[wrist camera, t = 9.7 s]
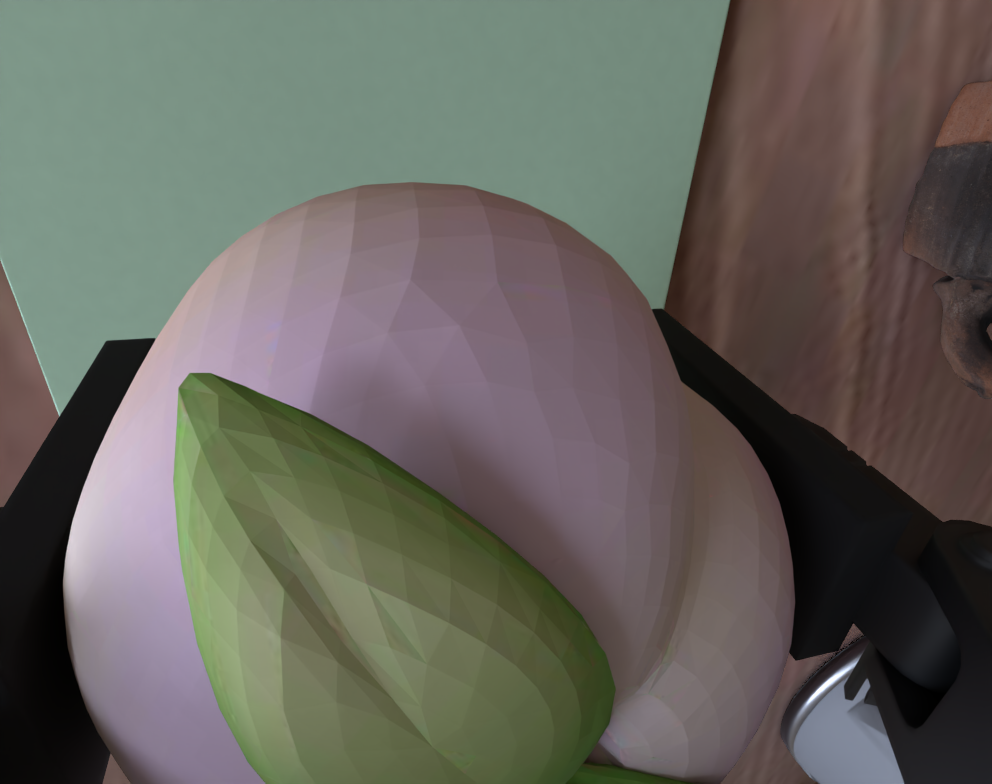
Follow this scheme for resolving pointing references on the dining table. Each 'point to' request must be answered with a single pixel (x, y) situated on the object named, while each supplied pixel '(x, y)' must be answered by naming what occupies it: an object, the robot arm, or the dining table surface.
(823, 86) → the dining table surface
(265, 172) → the placemat
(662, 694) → the decorative fruit
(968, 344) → the pottery mug
